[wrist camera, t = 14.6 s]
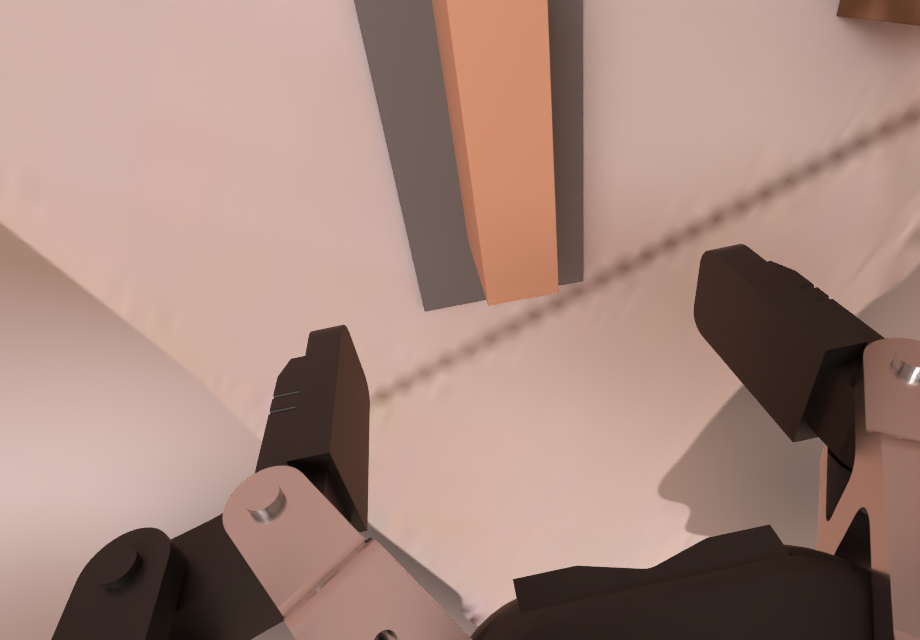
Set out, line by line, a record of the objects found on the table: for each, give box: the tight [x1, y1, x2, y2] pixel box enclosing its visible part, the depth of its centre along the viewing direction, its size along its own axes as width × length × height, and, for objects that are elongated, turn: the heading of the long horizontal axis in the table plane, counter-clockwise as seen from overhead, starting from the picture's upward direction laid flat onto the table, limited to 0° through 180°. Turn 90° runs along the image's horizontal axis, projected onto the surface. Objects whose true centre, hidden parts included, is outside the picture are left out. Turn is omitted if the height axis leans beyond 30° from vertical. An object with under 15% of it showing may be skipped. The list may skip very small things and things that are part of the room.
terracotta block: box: [432, 0, 559, 306], centre depth 27 cm, size 16×4×8 cm, turn 8°
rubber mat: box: [354, 0, 583, 311], centre depth 30 cm, size 26×12×1 cm, turn 8°
